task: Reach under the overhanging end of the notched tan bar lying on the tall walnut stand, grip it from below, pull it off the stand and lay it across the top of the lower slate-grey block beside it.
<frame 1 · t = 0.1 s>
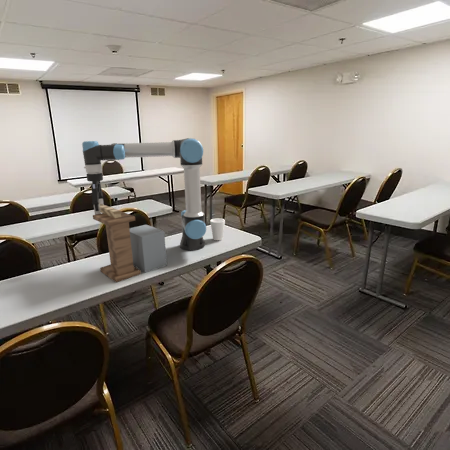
hand: (100, 213, 165), 28 cm above the table, tool pointing down, fingers open, 13 cm apart
walnut stand: (120, 272, 161), on the table
notched tan bar: (107, 213, 157), point 30 cm above the table, touching walnut stand
grey block: (147, 263, 171), on the table
foam cup: (218, 239, 208), on the table
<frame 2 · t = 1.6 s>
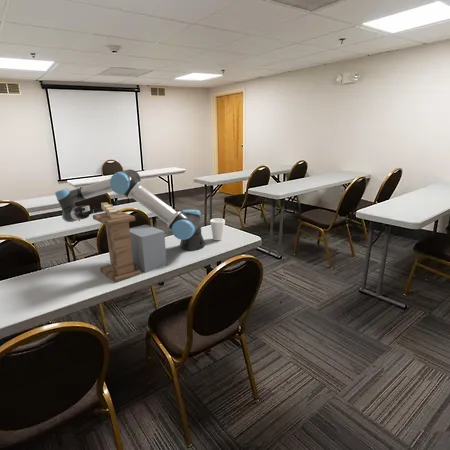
hand: (101, 207, 169), 30 cm above the table, tool pointing upward, fingers open, 13 cm apart
notched tan bar: (109, 212, 158), point 30 cm above the table, touching walnut stand
everything else where it was.
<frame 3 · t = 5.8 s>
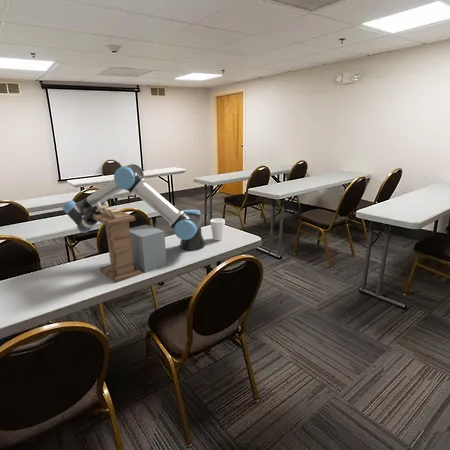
hand: (103, 203, 158), 34 cm above the table, tool pointing upward, fingers closed on notched tan bar, 3 cm apart
notched tan bar: (107, 213, 157), point 30 cm above the table, touching gripper
everything else where it was.
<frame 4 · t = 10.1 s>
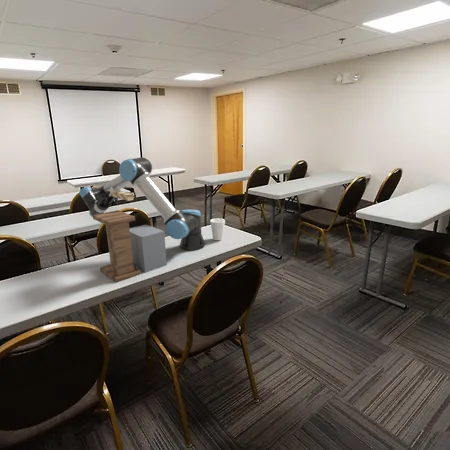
hand: (115, 188, 172), 39 cm above the table, tool pointing upward, fingers closed on notched tan bar, 3 cm apart
notched tan bar: (119, 197, 171), point 35 cm above the table, touching gripper
everything else where it was.
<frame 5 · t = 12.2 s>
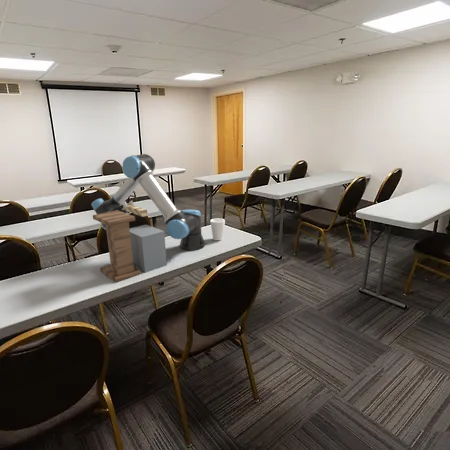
hand: (129, 203, 171), 32 cm above the table, tool pointing upward, fingers closed on notched tan bar, 3 cm apart
notched tan bar: (133, 212, 169), point 27 cm above the table, touching gripper
everything else where it was.
when the fingers open (25 cm above the table, at t = 14.1 s): notched tan bar drops 2 cm, resting on grey block.
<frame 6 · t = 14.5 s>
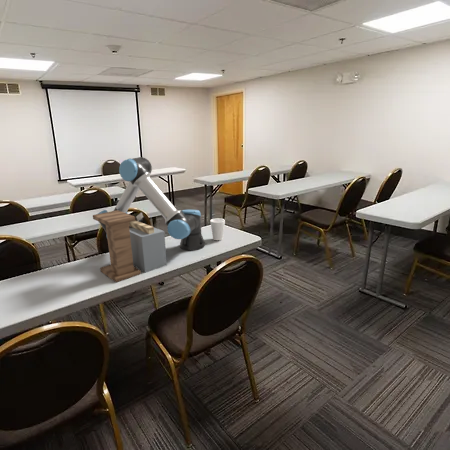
hand: (134, 216, 170), 25 cm above the table, tool pointing upward, fingers open, 8 cm apart
notched tan bar: (139, 228, 169), point 19 cm above the table, touching grey block
everything else where it was.
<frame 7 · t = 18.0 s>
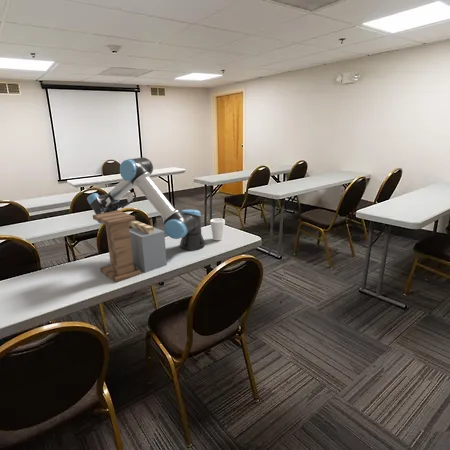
hand: (121, 197, 177), 33 cm above the table, tool pointing upward, fingers open, 13 cm apart
nothing on the table moved.
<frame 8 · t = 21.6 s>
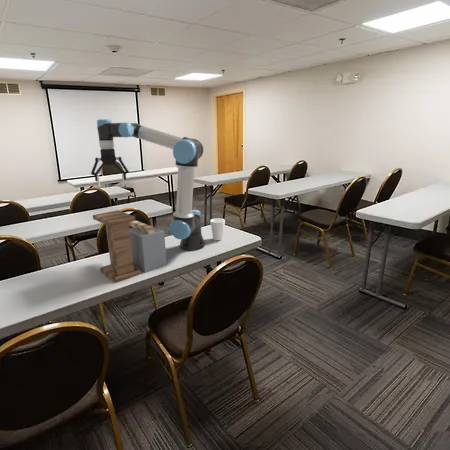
hand: (111, 186, 183), 39 cm above the table, tool pointing down, fingers open, 13 cm apart
nothing on the table moved.
at the end: notched tan bar inside the target area on the grey block (0.2 cm from its centre), point 19.0 cm above the grey block's base; notched tan bar touching grey block; the gripper is holding nothing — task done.
